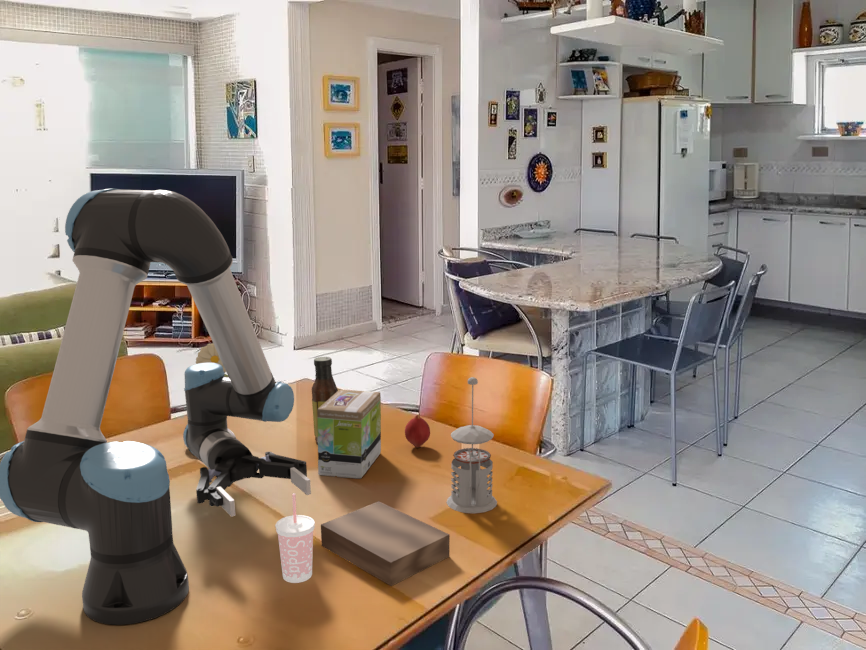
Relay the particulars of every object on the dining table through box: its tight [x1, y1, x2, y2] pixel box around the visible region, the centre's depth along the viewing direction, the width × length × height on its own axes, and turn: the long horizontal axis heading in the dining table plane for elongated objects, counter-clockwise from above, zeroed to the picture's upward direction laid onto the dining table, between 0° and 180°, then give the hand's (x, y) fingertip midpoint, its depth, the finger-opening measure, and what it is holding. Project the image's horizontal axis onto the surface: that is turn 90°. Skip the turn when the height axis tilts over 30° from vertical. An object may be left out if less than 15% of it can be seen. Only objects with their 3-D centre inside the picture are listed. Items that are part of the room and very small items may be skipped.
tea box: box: [317, 389, 382, 479], centre depth 170 cm, size 15×10×15 cm, turn 168°
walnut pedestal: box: [320, 500, 450, 587], centre depth 134 cm, size 13×18×4 cm
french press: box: [446, 376, 498, 514], centre depth 149 cm, size 10×12×25 cm
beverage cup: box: [274, 492, 316, 584], centre depth 125 cm, size 6×6×14 cm
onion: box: [404, 413, 431, 449], centre depth 180 cm, size 6×6×8 cm
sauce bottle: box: [311, 356, 339, 443], centre depth 183 cm, size 7×6×20 cm
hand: (271, 497), depth 133 cm, fingers open, 13 cm apart
